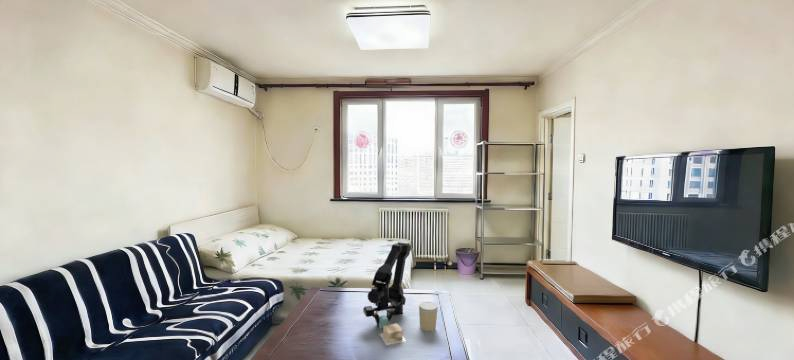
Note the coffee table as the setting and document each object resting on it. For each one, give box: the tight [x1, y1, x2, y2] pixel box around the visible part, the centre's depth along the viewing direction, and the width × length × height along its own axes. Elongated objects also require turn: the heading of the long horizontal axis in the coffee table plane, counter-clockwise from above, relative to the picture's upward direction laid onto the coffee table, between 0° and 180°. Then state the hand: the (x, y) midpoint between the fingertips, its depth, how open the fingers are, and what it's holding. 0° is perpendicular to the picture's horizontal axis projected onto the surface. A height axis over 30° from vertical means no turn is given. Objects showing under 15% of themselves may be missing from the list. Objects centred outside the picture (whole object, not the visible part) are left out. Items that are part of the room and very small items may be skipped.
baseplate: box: [379, 332, 407, 346], centre depth 150 cm, size 10×10×1 cm
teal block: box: [377, 314, 389, 329], centre depth 160 cm, size 4×4×5 cm
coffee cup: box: [418, 301, 439, 333], centre depth 159 cm, size 9×9×12 cm
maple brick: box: [382, 322, 404, 343], centre depth 149 cm, size 7×7×4 cm
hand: (382, 325), depth 160 cm, fingers closed on teal block, 4 cm apart
